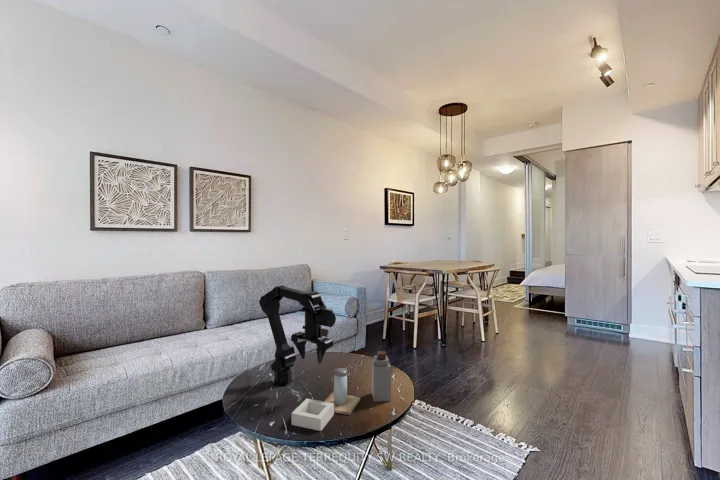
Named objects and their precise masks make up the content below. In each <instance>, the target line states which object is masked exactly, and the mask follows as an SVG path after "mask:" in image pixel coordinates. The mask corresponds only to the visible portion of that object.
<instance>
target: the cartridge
mask: <svg viewBox="0 0 720 480" xmlns="http://www.w3.org/2000/svg"><path fill="white" fill-rule="evenodd" d="M333 393H334V403H335V404H337V405H344V404H346V403H347V395H348V369H347V368H344V367H338V368H334V370H333Z"/></svg>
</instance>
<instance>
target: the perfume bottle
mask: <svg viewBox="0 0 720 480" xmlns="http://www.w3.org/2000/svg"><path fill="white" fill-rule="evenodd" d="M373 358H374V360H372V361H371V397H372V400H373V403H374V402H391V400H392V398H391V397H392V394H391V393H392V366H391V363H390V359H389V358H388V355H387V352H386V351H385V350H378V351H376V355H373Z"/></svg>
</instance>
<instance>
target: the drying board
mask: <svg viewBox="0 0 720 480" xmlns="http://www.w3.org/2000/svg"><path fill="white" fill-rule="evenodd" d="M323 402H328V403H334V391H333V392H331V393H330V394H329V396H328V397H327V398H325V400H324V401H323ZM359 402H361V396H360V397H359V396H355V395H349V394H347V403H346V404H344V405H337V404H335V403H334V413H336V414H337V413H338V414H342V415H346V416H347V415H348V416H350V415H351V414H352V413H353V411H354V409H355V408H356V407H357V405H358V404H359Z"/></svg>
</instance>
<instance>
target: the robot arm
mask: <svg viewBox="0 0 720 480" xmlns="http://www.w3.org/2000/svg"><path fill="white" fill-rule="evenodd" d="M283 298H286V299H288V300H292V301H296V302H298V304H300V305H301V306H302V308H301V309H300V312H303V313H304V325H302V329H303V330H304V331H297V332H295V333H292V335H291V336H290V341H291V342H292V344H294V345H293V346H292V345H291V346H290V345H289V344H288V340H287V337H286V334H285V331H284V327H283V323H282V320H281V316H280V307H281V302H280V301H281V300H283ZM259 305H260V308H261V311H262V312H263V313H264V315H266V316H267V319H268V322H269V326H270V330H271V333H272V337H273V340H274V344H275V348H276V349H275V353H274V361H273V363H271V364H270V369H271V371H272V372H274V376H273V377H274V380H273V382H272V383H271V384H272V385H275V386H276V385H277V386H281V387H286V386H287V385H289V384H291V382H293V378H292V371H291V370H292V369H291V368H293V367H294V365H295V362H296V360H297V353H296V350H295V347H296V349H297V351H298V353H299V355H300V357H301V359H302V360H303V359H305V357H306V345H307V342H308V343H312V344H316V349H315V351H316V356H317V357H316V358H317V362H318V364H319V365H321V364H322V362H323V359H324V356H325V353H326V351H328V349H330V348H332V347H333V346H334V340H333V339H332V338H329V337H328V335H329V329H327V328H332V327H334V326H335V324H336V322H337V321H336V320H337V317H336V314H335V312H334V311H333V309H331V308H327V306H326V304H325V301H324V299H323V297H322V296H321V293H320V292H318V291H303V290H302V291H301V290H299V289H296V288H291V287H287V286H285V285H278V286H277V285H276V286H275V287H274V288H272V290H269V291H268V292H267V293H265V294H264V295H262V296H261V297H260V299H259ZM322 326H323V327H327V328H322ZM323 337H324V338H323ZM294 346H295V347H294Z"/></svg>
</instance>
